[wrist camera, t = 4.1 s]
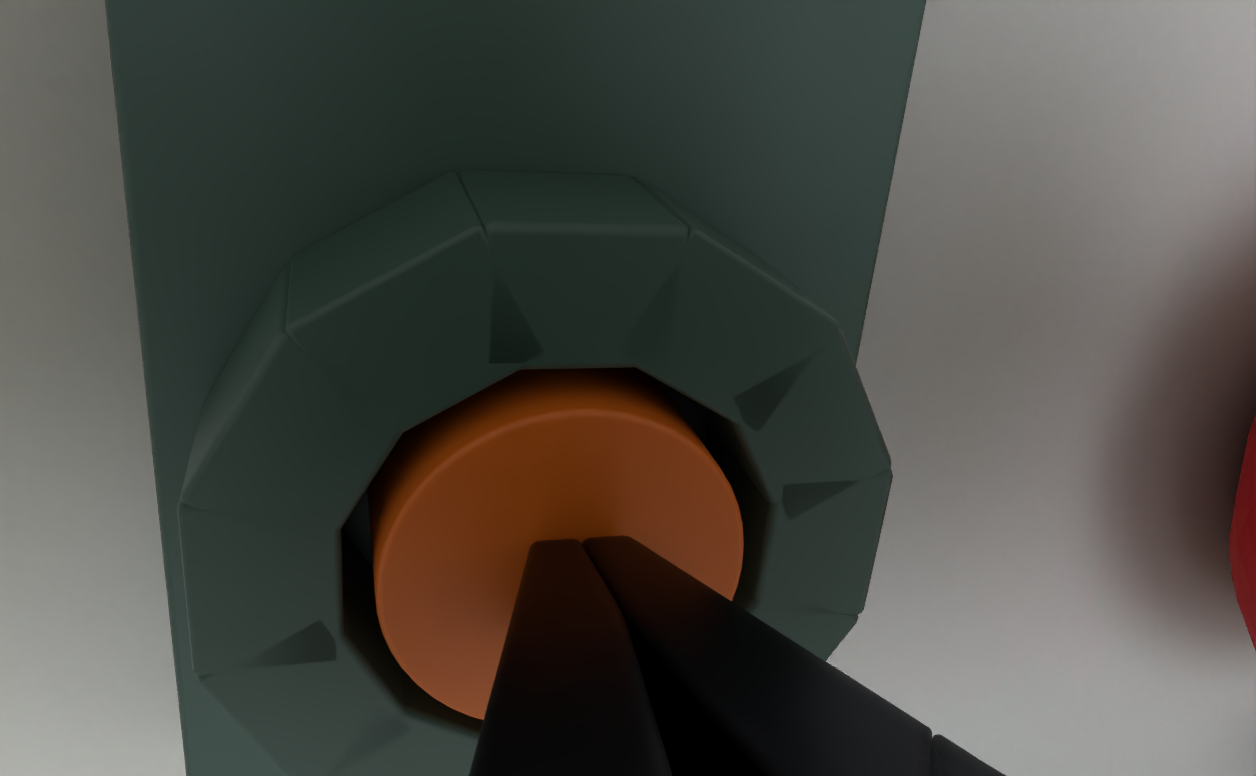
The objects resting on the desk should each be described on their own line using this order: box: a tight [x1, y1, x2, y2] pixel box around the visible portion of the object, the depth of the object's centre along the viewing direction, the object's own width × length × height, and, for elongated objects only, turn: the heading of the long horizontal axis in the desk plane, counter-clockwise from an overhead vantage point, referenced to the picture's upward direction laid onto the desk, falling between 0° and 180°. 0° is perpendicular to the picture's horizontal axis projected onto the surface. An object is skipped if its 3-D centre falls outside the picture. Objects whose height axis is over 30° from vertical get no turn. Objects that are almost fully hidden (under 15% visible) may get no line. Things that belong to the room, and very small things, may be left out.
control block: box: [105, 0, 926, 776], centre depth 11 cm, size 10×7×4 cm
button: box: [367, 367, 744, 720], centre depth 10 cm, size 3×3×2 cm
